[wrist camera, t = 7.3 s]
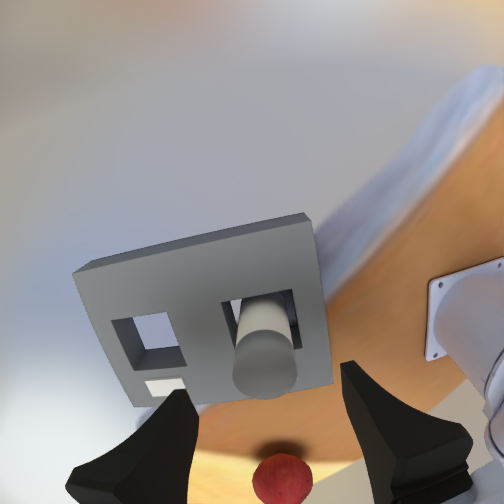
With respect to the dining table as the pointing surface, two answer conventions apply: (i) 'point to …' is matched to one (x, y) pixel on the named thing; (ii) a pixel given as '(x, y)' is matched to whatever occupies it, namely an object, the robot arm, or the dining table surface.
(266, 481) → the red rounded oval piece
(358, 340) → the dining table surface
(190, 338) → the socket panel
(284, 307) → the plug
